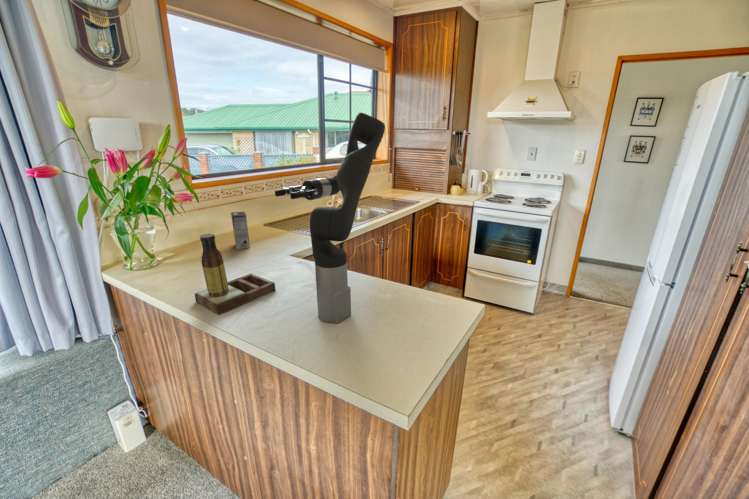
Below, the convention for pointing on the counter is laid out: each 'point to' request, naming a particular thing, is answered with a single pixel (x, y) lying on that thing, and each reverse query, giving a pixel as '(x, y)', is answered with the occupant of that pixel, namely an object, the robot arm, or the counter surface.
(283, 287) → the counter surface
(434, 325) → the counter surface
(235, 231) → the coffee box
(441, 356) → the counter surface
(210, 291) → the sauce bottle
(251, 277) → the board
